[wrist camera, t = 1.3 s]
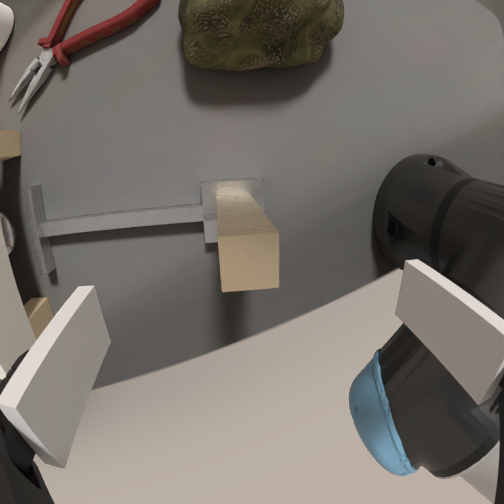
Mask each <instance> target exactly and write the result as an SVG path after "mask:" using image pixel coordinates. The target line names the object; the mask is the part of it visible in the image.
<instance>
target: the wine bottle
mask: <svg viewBox="0 0 504 504" xmlns="http://www.w3.org/2000/svg"><path fill="white" fill-rule="evenodd" d="M13 24H14V15H13V12H12V10H11V9H10V8H9V7H8V6H6V5H4V4H2V3H0V51H1V50H2V48H3V47H4V45H5V44H6V42H7V40H8V38H9V36H10V34H11V31H12V28H13Z"/></svg>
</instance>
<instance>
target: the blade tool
mask: <svg viewBox="0 0 504 504" xmlns="http://www.w3.org/2000/svg"><path fill="white" fill-rule="evenodd" d="M201 192H202V203H199V204H186V205H174V206H163V207H153V208H143V209H133V210H124V211H115V212H107V213H98V214H90V215H83V216H75V217H68V218H61V219H54V220H48V221H46V218H45V212H44V206H43V199H42V191H41V185H37V186H32V187H29V188H26V189H23V193H24V200H25V207H26V213H27V219H28V225H29V230H30V235H31V240H32V244H33V249H34V253H35V257H36V261H37V265H38V269H39V272H40V275H48V274H49V273H50V272H51V271H52V270H53V269H55V268H56V266H55V262H54V257H53V253H52V249H51V244H50V239H49V236H55V235H63V234H71V233H80V232H89V231H98V230H108V229H118V228H128V227H138V226H149V225H160V224H172V223H185V222H197V221H204V233H205V243H213V242H218V249H219V262H220V275H221V287H222V292H232V291H245V290H256V289H268V288H279V232H278V231H277V229H276V228H275V227H274V225H273V224H272V223H271V221H270V220H269V219H268V217H267V216H266V215H265V204H264V179H263V178H245V179H227V180H211V181H201Z"/></svg>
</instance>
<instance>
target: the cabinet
mask: <svg viewBox="0 0 504 504" xmlns="http://www.w3.org/2000/svg"><path fill="white" fill-rule="evenodd" d="M20 155H21V146H20V131H0V161H4V160H7V159H10V158H14V157H17V156H20ZM53 318H54V314H53V311H52V308H51V305H50V302H49V299H48V297H43V298H31V299H30V300H29V301H28V302H27V303H26V304H25V305H24V306H23V303H22V300H21V297H20V294H19V291H18V288H17V285H16V282H15V279H14V275H13V272H12V268H11V265H10V261H9V257H8V253H7V249H6V245H5V240H4V236H3V231H2V226H1V220H0V379H4V377H5V378H6V374H7V373H8V371H9V370H11V367H12V365H13V364H14V363H15V361H16V360H17V358H18V357H19V356H20V355H22V354H23V353H24V352H25V351H27V350H28V349H31V347H32V346H33V345H34V343H35V342H36V340H37V339H38V338H39V336H40V335H41V334H42V332H43V331H44V330H45V328H46V327H47V326H48V324H49V323H50V322H51V320H52V319H53Z"/></svg>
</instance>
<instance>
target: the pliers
mask: <svg viewBox="0 0 504 504" xmlns="http://www.w3.org/2000/svg"><path fill="white" fill-rule="evenodd" d="M79 1H80V0H65V2H64V4H63V6H62V8H61V10H60V12H59V14H58V16H57V18H56V20H55V23H54V25H53V27H52V29H51V32H50V34H49V36H48V38H40V39H39V41H38V45H40V46H42V47H43V48H44V50H43V52H42V53H41V55H40V57H39V58H38V57H36V58H35V59H34V61H33V62H32V63H31V64H30V65H29V67H28V68H27V70H26V71H25V73H24V74H23V76H22V78H21V79H20V81H19V83H18V84H17V86H16V88H15V90H14V91H13V93H12V95H11V97H10V99H9V101H8V102H10V101H11V100H12V99H13V98H14V97H15V96H16V95H17V94H18V93H19V92H20V91H21V90H22V89H23V88H24V87H25V86H26V85H27V84H28V83H29V82H30V81H31V80H32V81H31V83H30V85H29V87H28V89H27V91H26V94H25V96H24V99H23V101H22V103H21V106H20V109H19V111H18V114H20V113H21V111H22V110H23V109H24V107H25V106H26V104H27V103H28V102H29V101H30V99H31V98H32V97H33V95H34V94H35V93H36V92H37V90H38V89H39V88H40V87H41V85H42V84H43V83H44V82H45V80H46V79H47V77H48V76H49V74H50V73H51V71H52V68H50V66H53V65H55V64H56V63H57V62H58V63H59V64H61V65H63V66H65V67H66V66H67V65H69V64H70V59H69V55H70V54H72V53H74V52H76V51H78V50H80V49H82V48H84V47H86V46H88V45H90V44H92V43H94V42H96V41H98V40H101V39H103V38H105V37H107V36H110V35H112V34H114V33H117V32H119V31H121V30H123V29H125V28H127V27H128V26H130V25H132V24H134V23H135V22H137V21H138V20H139V19H140V18H141V17H142V16H144V15H145V14H146V13H147V12H148V11H149V10H150V9H151V8H153V7H154V6H155V5H156V4H157V3H158V2H159V1H160V0H137V1H136V2H135V3H134V4H133V5H132V6H130V7H129V8H128V9H126V10H125V11H123V12H122V13H120V14H118V15H116V16H114V17H112V18H110V19H108V20H106V21H103V22H101V23H99V24H97V25H95V26H93V27H90V28H88V29H86V30H84V31H82V32H80V33H78V34H76V35H75V36H73V37H71V38H69V39H67V40H65V41H63V42H62V43H61V40H62V38H63V35H64V33H65V31H66V28H67V26H68V24H69V22H70V20H71V18H72V15H73V13H74V11H75V9H76V7H77V5H78V3H79ZM41 65H42V66H41ZM40 66H41V68H40V70H39V71H38V68H39V67H40Z"/></svg>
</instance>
